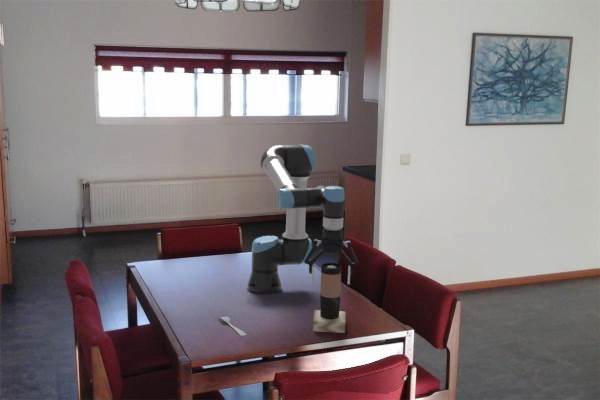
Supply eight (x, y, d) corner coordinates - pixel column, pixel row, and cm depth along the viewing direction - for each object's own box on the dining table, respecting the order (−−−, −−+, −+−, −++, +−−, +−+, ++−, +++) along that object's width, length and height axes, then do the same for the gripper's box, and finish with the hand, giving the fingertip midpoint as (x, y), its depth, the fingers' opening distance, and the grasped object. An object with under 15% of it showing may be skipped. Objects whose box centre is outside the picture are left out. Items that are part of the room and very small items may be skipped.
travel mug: (338, 312, 246) (340, 262, 242) (341, 319, 239) (343, 268, 235) (318, 312, 245) (320, 262, 242) (320, 319, 238) (322, 268, 234)
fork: (240, 343, 231) (241, 336, 231) (215, 319, 248) (216, 312, 247) (247, 341, 233) (248, 334, 232) (222, 317, 249) (222, 311, 249)
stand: (313, 331, 237) (313, 321, 237) (314, 319, 249) (314, 309, 248) (345, 332, 237) (345, 322, 236) (345, 321, 248) (345, 311, 248)
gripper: (298, 228, 233) (297, 283, 237) (366, 231, 231) (364, 287, 235) (300, 224, 240) (298, 277, 244) (366, 227, 239) (363, 280, 243)
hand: (330, 282), depth 240 cm, fingers open, 13 cm apart
